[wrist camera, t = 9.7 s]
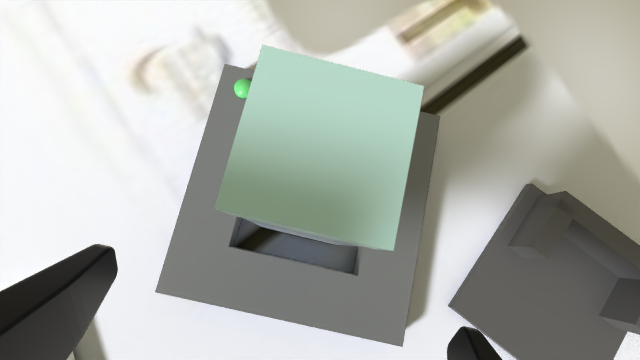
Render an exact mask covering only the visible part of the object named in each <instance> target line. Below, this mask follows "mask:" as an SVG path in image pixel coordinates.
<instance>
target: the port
mask: <svg viewBox="0 0 640 360" xmlns="http://www.w3.org/2000/svg"><path fill="white" fill-rule="evenodd" d="M254 72H255V71H252V70H248V69H244V68H240V67H236V66H232V65H227V64H225V65H224V68H223V72H222V75H221V78H220V81H219V85H218V88H217V91H216V94H215V98H214V101H213V104H212V108H211V111H210V114H209V117H208V121H207V124H206V127H205V130H204V134H203V137H202V140H201V144H200V147H199V150H198V153H197V157H196V160H195V163H194V166H193V170H192V173H191V176H190V180H189V183H188V186H187V189H186V193H185V196H184V199H183V202H182V206H181V209H180V212H179V216H178V219H177V222H176V225H175V229H174V232H173V235H172V238H171V242H170V245H169V248H168V252H167V255H166V258H165V261H164V265H163V268H162V271H161V274H160V278H159V281H158V284H157V288H156V291H155V292H157V293H161V294H166V295H170V296H175V297H180V298H184V299H189V300H193V301H198V302H202V303H207V304H211V305H216V306H220V307H225V308H229V309H234V310H238V311H243V312H247V313H252V314H256V315H261V316H265V317H270V318H274V319H279V320H284V321H288V322H293V323H297V324H302V325H306V326H311V327H315V328H320V329H324V330H329V331H333V332H338V333H342V334H347V335H351V336H356V337H360V338H365V339H369V340H374V341H378V342H383V343H388V344H392V345H397V346H401V347H403V341H404V335H405V329H406V322H407V316H408V310H409V304H410V298H411V292H412V286H413V280H414V273H415V267H416V261H417V255H418V249H419V243H420V237H421V231H422V225H423V218H424V212H425V206H426V200H427V194H428V188H429V182H430V176H431V169H432V163H433V157H434V151H435V145H436V139H437V133H438V127H439V120H440V116H437V115H433V114H429V113H425V112H421V111H419V117H418V122H417V128H416V133H415V138H414V144H413V149H412V154H411V160H410V165H409V170H408V176H407V181H406V186H405V192H404V197H403V202H402V208H401V213H400V218H399V224H398V229H397V235H396V240H395V245H394V251H389V250H378V249H371V248H367V247H362V246H358V251H357V256H356V261H355V266H354V271H353V273H349V272H345V271H340V270H336V269H331V268H327V267H323V266H318V265H314V264H309V263H305V262H301V261H296V260H292V259H287V258H283V257H278V256H274V255H270V254H265V253H261V252H256V251H252V250H248V249H243V248H239V247H234V245H235V241H236V237H237V233H238V230H239V226H240V222H241V219H242V218H241V217H237V216H233V215H230V214H227V213H225V212H222V211H220V210H218V209H215V208H214V207H215V203H216V200H217V197H218V193H219V190H220V186H221V183H222V180H223V176H224V173H225V170H226V166H227V163H228V159H229V156H230V153H231V149H232V146H233V143H234V139H235V136H236V132H237V129H238V126H239V122H240V119H241V116H242V112H243V109H244V105H245V102H246V99H247V95H248V92H249V88H250V85H251V82H252V78H253V75H254Z"/></svg>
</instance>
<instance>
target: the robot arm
mask: <svg viewBox="0 0 640 360" xmlns="http://www.w3.org/2000/svg"><path fill="white" fill-rule="evenodd" d="M117 271H118V267H117V261H116V256H115V250H114V249H113V248H112V247H110V246H106V245H101V244H95V245H92V246H90V247H88V248H86V249H84V250H82V251H80V252H78V253H76V254H74V255H72V256H70V257H68V258H66V259H64V260H62V261H60V262H58V263H56V264H54V265H52V266H50V267H48V268H46V269H44V270H42V271H40V272H38V273H36V274H34V275H32V276H30V277H28V278H26V279H24V280H22V281H20V282H18V283H16V284H14V285H12V286H10V287H8V288H6V289H4V290H2V291H0V360H67V359H68V357H69V356H70V354H71V353H72V351H73V350H74V348H75V347H76V346H77V344H78V343H79V341H80V340H81V338H82V337H83V335H84V333H85V332H86V330H87V328H88V327H89V325H90V323H91V321H92V319H93V318H94V316H95V314H96V312H97V310H98V309H99V307H100V305H101V303H102V301H103V300H104V298H105V296H106V294H107V292H108V291H109V289H110V287H111V285H112V283H113V282H114V280H115V278H116V275H117ZM447 360H502V359H501V357H500V356H499V355H498V354H497V352H496V351H495V350H494V348H493V347H492V346H491V344H490V343H489V342H488V341H487V339H486V338H485V337H484V335H483V334H482V333H481V332H480V331H479V330H477V329H474V328H470V327H465V326H463V327H461V328H460V329H459V330H458V331H457V333H456V334H455V335H454V337H453V338H452V340H451V341H450V342H449V344H448V348H447Z"/></svg>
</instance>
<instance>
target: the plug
mask: <svg viewBox="0 0 640 360" xmlns="http://www.w3.org/2000/svg"><path fill="white" fill-rule="evenodd" d="M423 90H424V86H423V85H419V84H415V83H411V82H407V81H403V80H399V79H395V78H391V77H387V76H383V75H379V74H375V73H371V72H367V71H364V70H360V69H356V68H352V67H348V66H344V65H340V64H336V63H332V62H328V61H324V60H320V59H316V58H312V57H308V56H305V55H301V54H297V53H293V52H289V51H285V50H281V49H277V48H273V47H269V46H265V45H262V48H261V51H260V55H259V58H258V61H257V65H256V68H255V72H254V75H253V78H252V82H251V85H250V88H249V92H248V95H247V99H246V102H245V105H244V109H243V112H242V116H241V119H240V122H239V126H238V129H237V132H236V136H235V139H234V143H233V146H232V149H231V153H230V156H229V159H228V163H227V166H226V170H225V173H224V176H223V180H222V183H221V186H220V190H219V193H218V197H217V200H216V203H215V207H214V208H215V209H218V210H220V211H222V212H225V213H227V214H230V215H233V216H237V217H241V218H244V219H246V220H248V221H250V222H252V223H255V224H257V225H259V226H261V227H263V228H268V229H272V230H276V231H280V232H284V233H289V234H293V235H297V236H301V237H305V238H309V239H314V240H318V241H322V242H326V243H330V244H335V245H349V246H362V247H367V248H371V249H378V250H389V251H394V245H395V240H396V235H397V229H398V224H399V218H400V213H401V208H402V202H403V197H404V192H405V186H406V181H407V176H408V170H409V165H410V160H411V154H412V149H413V144H414V138H415V133H416V128H417V122H418V117H419V111H420V106H421V101H422V95H423Z"/></svg>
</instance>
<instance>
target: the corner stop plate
mask: <svg viewBox="0 0 640 360" xmlns="http://www.w3.org/2000/svg"><path fill="white" fill-rule="evenodd" d="M448 306H449V307H450V308H452V309H453V310H454V311H455V312H457V313H458V314H459V315H461V316H462V317H463V318H464V319H466V320H467V321H468V322H470V323H471V324H472V325H473V326H475V327H476V328H477V329H479V330H480V331H481V332H482V333H484V334H485V335H486V336H488V337H489V338H490V339H491V340H493V341H494V342H495V343H497V344H498V345H499V346H500V347H502V348H503V349H504V350H506V351H507V352H508V353H509V354H511V355H512V356H513V357H515V358H516V359H517V360H613V359H614V357H615V355H616V353H617V351H618V349H619V347H620V345H621V343H622V341H623V339H624V337H625V335H626V333H627V331H628V332H632V333H636V334H640V245H638V244H637V243H635V242H634V241H633V240H631V239H630V238H629V237H627V236H626V235H625V234H623V233H622V232H621V231H619V230H618V229H617V228H615V227H614V226H612V225H611V224H610V223H608V222H607V221H606V220H604V219H603V218H602V217H600V216H599V215H598V214H596V213H595V212H594V211H592V210H591V209H589V208H588V207H587V206H585V205H584V204H583V203H581V202H580V201H579V200H577V199H576V198H575V197H573V196H572V195H571V194H569V193H568V192H566V191H564V192H559V193H554V194H548V195H547V194H545V193H544V192H543V191H541V190H540V189H539V188H537V187H536V186H534V185H533V184H532V183H531V184H527V185H525V187H524V188H523V190H522V191H521V193H520V195H519V196H518V198H517V199H516V201H515V202H514V204H513V205H512V207H511V209H510V210H509V212H508V213H507V215H506V216H505V218H504V219H503V221H502V223H501V224H500V226H499V227H498V229H497V230H496V232H495V233H494V235H493V237H492V238H491V240H490V241H489V243H488V244H487V246H486V247H485V249H484V251H483V252H482V254H481V255H480V257H479V258H478V260H477V262H476V263H475V265H474V266H473V268H472V269H471V271H470V272H469V274H468V276H467V277H466V279H465V280H464V282H463V283H462V285H461V286H460V288H459V290H458V291H457V293H456V294H455V296H454V297H453V299H452V300H451V302H450V304H449V305H448Z"/></svg>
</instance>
